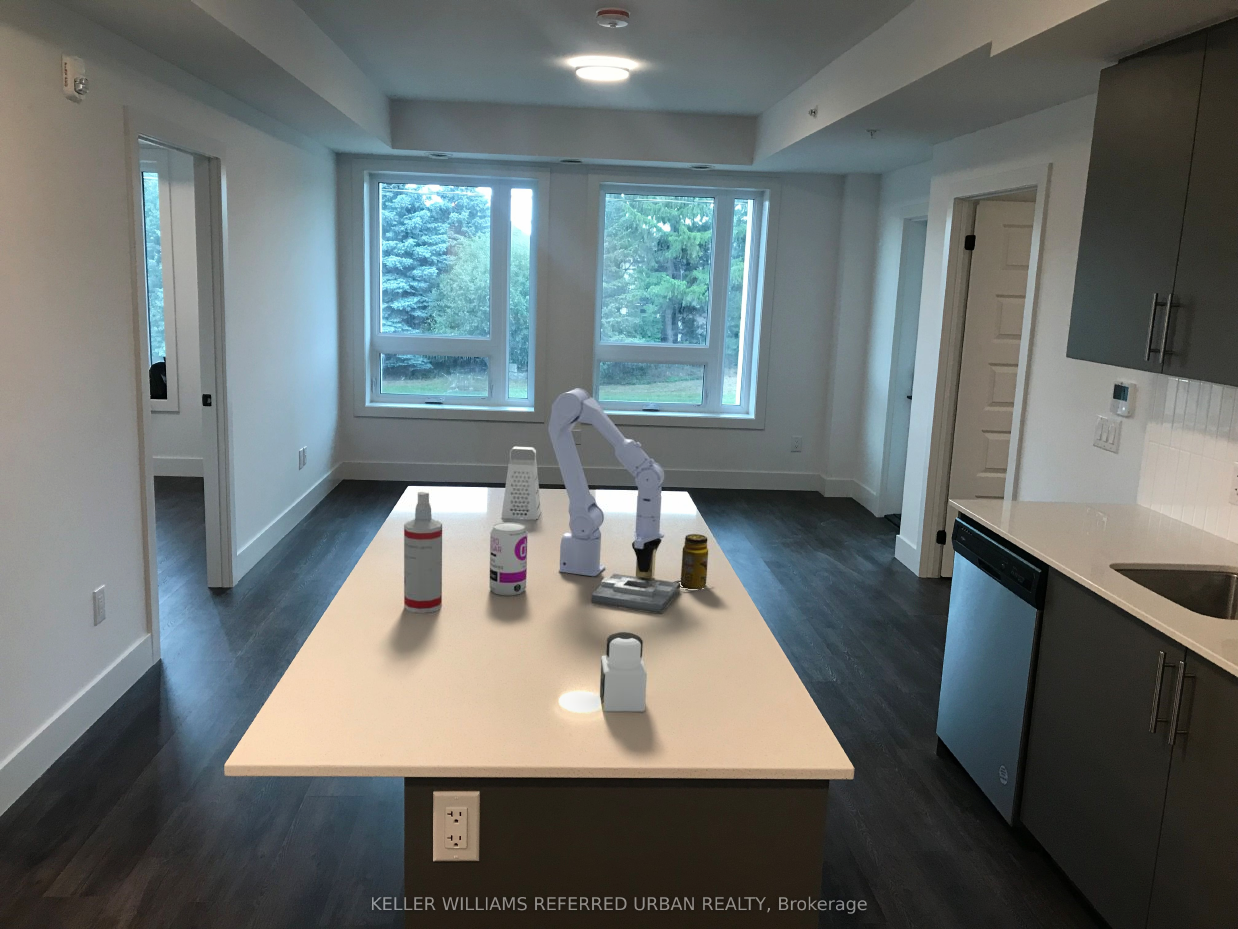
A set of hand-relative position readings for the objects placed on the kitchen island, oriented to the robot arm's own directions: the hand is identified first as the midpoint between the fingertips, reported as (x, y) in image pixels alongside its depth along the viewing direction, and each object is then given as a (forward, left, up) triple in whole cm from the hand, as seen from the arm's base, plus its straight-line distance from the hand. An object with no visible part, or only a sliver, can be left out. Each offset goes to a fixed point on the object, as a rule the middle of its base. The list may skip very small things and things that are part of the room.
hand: (645, 569), depth 227 cm
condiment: (+11, -1, -2) cm, 12 cm away
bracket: (+2, -14, 0) cm, 14 cm away
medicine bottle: (+15, -66, -2) cm, 68 cm away
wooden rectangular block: (0, 0, -2) cm, 2 cm away
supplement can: (-26, -22, -2) cm, 34 cm away
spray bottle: (-38, -39, -2) cm, 54 cm away
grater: (-50, +41, -2) cm, 65 cm away
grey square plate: (+2, -14, -2) cm, 14 cm away
